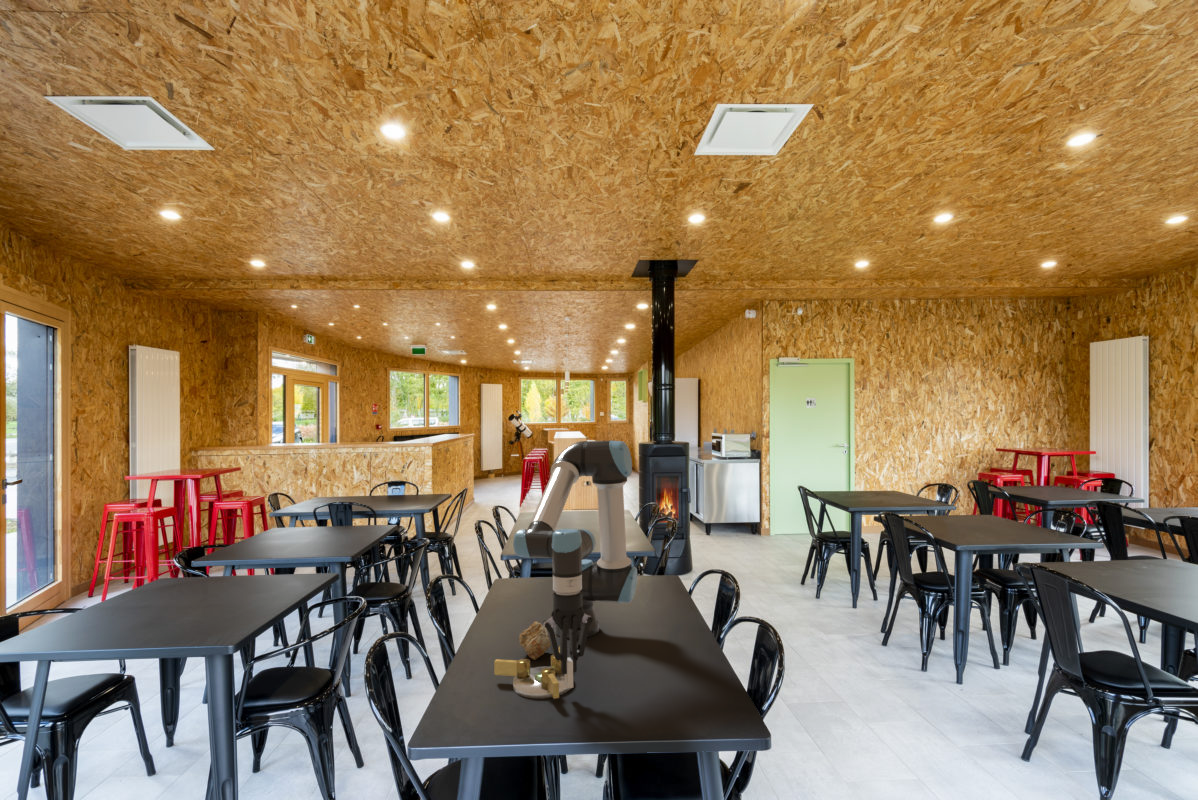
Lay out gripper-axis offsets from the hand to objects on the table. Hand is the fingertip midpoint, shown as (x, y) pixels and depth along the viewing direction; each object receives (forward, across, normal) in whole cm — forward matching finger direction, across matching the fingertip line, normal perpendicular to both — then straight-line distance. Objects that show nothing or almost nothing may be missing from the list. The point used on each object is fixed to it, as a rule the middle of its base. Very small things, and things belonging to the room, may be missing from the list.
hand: (569, 685), depth 146 cm
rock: (+4, -2, +30) cm, 31 cm away
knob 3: (+1, +2, +16) cm, 16 cm away
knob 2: (+2, -4, +2) cm, 5 cm away
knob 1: (+2, -11, +15) cm, 19 cm away
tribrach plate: (+3, -4, +11) cm, 12 cm away
